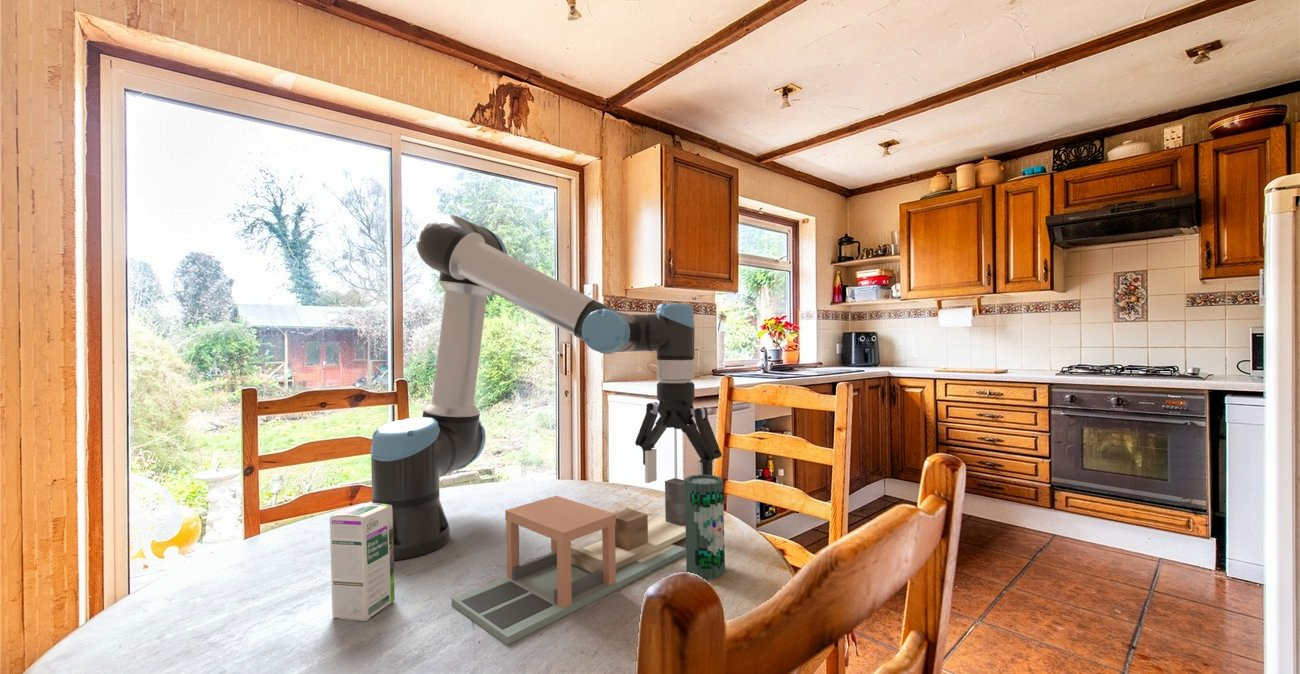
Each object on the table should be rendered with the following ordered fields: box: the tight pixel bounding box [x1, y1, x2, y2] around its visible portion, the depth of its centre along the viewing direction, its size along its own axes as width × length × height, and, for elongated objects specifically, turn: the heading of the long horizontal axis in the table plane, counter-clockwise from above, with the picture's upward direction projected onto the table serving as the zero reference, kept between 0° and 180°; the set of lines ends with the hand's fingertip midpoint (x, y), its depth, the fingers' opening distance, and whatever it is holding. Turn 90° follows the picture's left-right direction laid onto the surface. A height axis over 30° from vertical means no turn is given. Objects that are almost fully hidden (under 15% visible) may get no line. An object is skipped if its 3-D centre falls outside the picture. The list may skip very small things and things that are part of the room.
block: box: [613, 508, 649, 551], centre depth 90 cm, size 5×5×5 cm
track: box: [451, 495, 686, 646], centre depth 82 cm, size 15×36×12 cm, turn 137°
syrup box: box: [329, 502, 396, 622], centre depth 73 cm, size 6×6×14 cm
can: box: [684, 474, 726, 580], centre depth 83 cm, size 6×6×15 cm
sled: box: [571, 477, 686, 573], centre depth 92 cm, size 9×26×9 cm, turn 137°
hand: (676, 488), depth 100 cm, fingers open, 13 cm apart
